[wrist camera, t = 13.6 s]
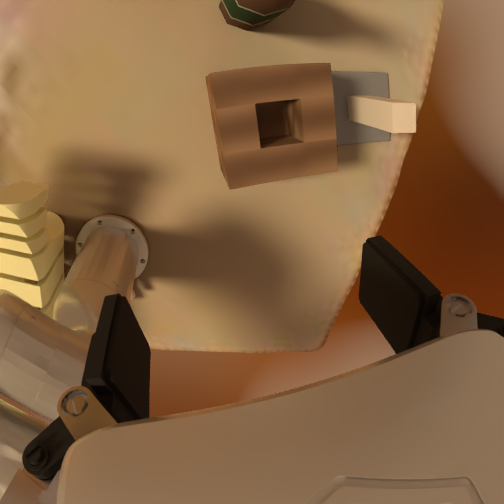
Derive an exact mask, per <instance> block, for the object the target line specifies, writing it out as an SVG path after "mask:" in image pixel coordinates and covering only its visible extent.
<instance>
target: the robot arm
mask: <svg viewBox="0 0 504 504" xmlns="http://www.w3.org/2000/svg"><path fill="white" fill-rule="evenodd" d="M100 220H101V221H102V222H101V221H100ZM132 229H134V230H132ZM75 247H76V255H77V257H76V259H75V261H74V263H73V265H72V267H71V269H70V271H69V273H68V275H67V277H66V279H65V281H64V283H63V285H62V287H61V289H60V292H59V294H58V296H57V298H56V301H55V304H54V310H53V319H52V318H51V317H49V316H48V315H46V314H44V313H43V312H41V311H40V310H38V309H37V308H35V307H34V306H32V305H31V304H29V303H28V302H26V301H24V300H23V299H21V298H20V297H18V296H17V295H15V294H13V293H12V292H10V291H7V290H4V289H0V393H2V394H4V395H5V396H7V397H8V398H10V399H12V400H14V401H16V402H17V403H19V404H21V405H23V406H25V407H27V408H29V409H30V410H31V411H33V412H35V413H37V414H39V415H41V416H43V417H45V418H47V419H49V420H52V421H53V422H52V423H51V424H50V425H48V424H46V423H45V422H43V421H41V420H39V419H37V418H35V417H33V416H31V415H29V414H27V413H25V412H23V411H21V410H19V409H17V408H16V407H14V406H12V405H10V404H8V403H7V402H5V401H3V400H2V399H0V504H504V319H502V318H498V317H493V316H489V315H485V314H481V313H477V312H476V307H475V304H474V303H473V301H471V300H470V299H469V298H467V297H466V296H464V295H460V294H450V295H447V296H446V297H444V298H443V297H442V296H441V295H440V294H441V292H440V291H439V290H438V289H437V288H436V287H435V286H434V285H433V284H432V283H431V282H430V281H429V280H428V279H427V278H426V277H425V276H424V275H423V274H422V273H421V272H420V271H419V270H418V269H417V268H416V267H415V266H414V265H413V264H412V263H410V262H409V261H408V260H407V259H406V258H405V257H404V256H403V255H402V254H401V253H399V251H398V250H396V249H395V248H394V247H393V246H392V245H391V244H390V243H389V242H387V241H386V240H385V239H384V238H383V237H382V236H376V237H371V238H368V239H367V240H366V243H364V244H363V250H362V264H361V276H360V288H359V300H360V303H361V304H362V306H363V307H364V308H365V310H366V311H367V312H368V314H369V315H370V317H371V318H372V320H373V321H374V322H375V324H376V325H377V327H378V328H379V330H380V331H381V332H382V334H383V335H384V337H385V338H386V340H387V341H388V342H389V344H390V345H391V347H392V348H393V350H394V351H395V353H396V354H395V355H393V356H390V357H388V358H385V359H383V360H380V361H377V362H375V363H372V364H369V365H367V366H364V367H361V368H358V369H355V370H352V371H349V372H346V373H343V374H340V375H338V376H334V377H331V378H328V379H325V380H321V381H318V382H315V383H311V384H308V385H305V386H301V387H298V388H294V389H290V390H287V391H283V392H279V393H275V394H271V395H268V396H263V397H259V398H255V399H251V400H246V401H242V402H237V403H233V404H228V405H223V406H218V407H213V408H208V409H202V410H196V411H190V412H185V413H179V414H173V415H166V416H159V417H153V418H149V387H150V355H151V353H150V347H149V344H148V342H147V340H146V338H145V336H144V334H143V332H142V330H141V328H140V326H139V324H138V322H137V320H136V317H135V315H134V313H133V311H132V309H131V307H130V300H131V299H134V298H135V297H136V295H135V292H134V290H133V285H134V279H136V278H137V277H138V276H139V275H140V274H141V273H142V272H143V271H144V269H145V267H146V265H147V261H148V254H149V249H148V243H147V240H146V238H145V236H144V234H143V232H142V231H141V230H140V229H139V228H138V226H136V225H135V224H134V223H133V222H131V221H130V220H128V219H126V218H124V217H121V216H117V215H101V216H97V217H95V218H93V219H91V220H90V221H88V222H87V223H86V224H85V225H84V226H83V227H82V229H81V230H80V232H79V234H78V236H77V239H76V244H75Z"/></svg>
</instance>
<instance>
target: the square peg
mask: <svg viewBox="0 0 504 504" xmlns="http://www.w3.org/2000/svg"><path fill="white" fill-rule="evenodd" d="M347 99H348V115H349V120H351V121H354V122H358V123H361V124H365V125H368V126H371V127H375V128H378V129H381V130H384V131H387V132H390V133H414V132H416V103H412V102H406V101H401V100H395V99H389V98H383V97H376V96H369V95H363V96H347Z"/></svg>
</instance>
